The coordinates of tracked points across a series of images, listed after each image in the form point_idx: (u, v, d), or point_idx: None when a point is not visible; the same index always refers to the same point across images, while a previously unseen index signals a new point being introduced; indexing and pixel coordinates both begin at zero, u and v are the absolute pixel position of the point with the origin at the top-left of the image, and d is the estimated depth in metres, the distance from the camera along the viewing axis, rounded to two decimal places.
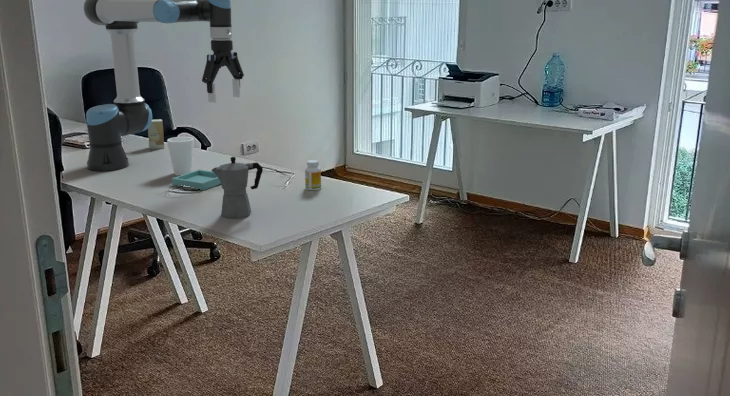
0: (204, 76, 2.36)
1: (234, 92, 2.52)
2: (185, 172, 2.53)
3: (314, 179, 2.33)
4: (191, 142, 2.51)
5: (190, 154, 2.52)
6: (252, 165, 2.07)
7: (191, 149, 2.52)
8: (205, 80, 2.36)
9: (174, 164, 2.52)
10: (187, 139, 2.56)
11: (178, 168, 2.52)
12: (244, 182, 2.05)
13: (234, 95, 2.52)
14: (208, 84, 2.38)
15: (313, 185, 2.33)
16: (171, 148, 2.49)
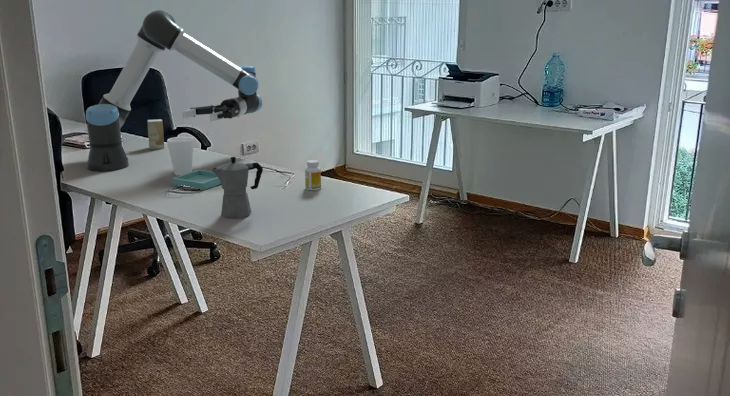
0: (232, 113, 2.61)
1: (187, 112, 2.62)
2: (185, 172, 2.53)
3: (314, 179, 2.33)
4: (191, 142, 2.51)
5: (190, 154, 2.52)
6: (252, 165, 2.07)
7: (191, 149, 2.52)
8: (231, 116, 2.60)
9: (174, 164, 2.52)
10: (187, 139, 2.56)
11: (178, 168, 2.52)
12: (244, 182, 2.05)
13: (184, 112, 2.61)
14: (225, 115, 2.59)
15: (313, 185, 2.33)
16: (171, 148, 2.49)
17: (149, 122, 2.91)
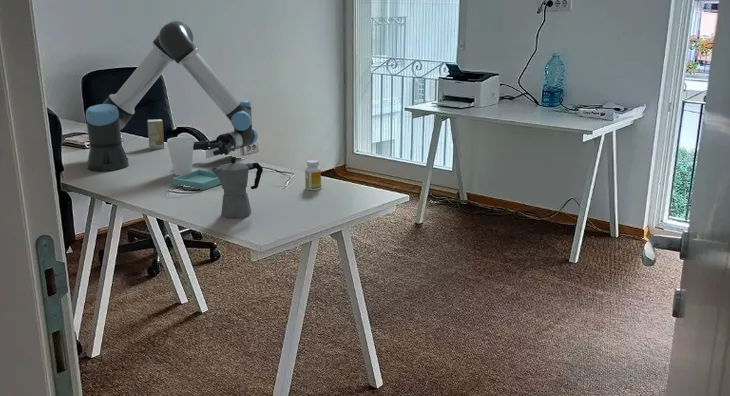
0: (228, 149, 2.61)
1: None
2: (185, 172, 2.53)
3: (314, 179, 2.33)
4: (191, 142, 2.51)
5: (190, 154, 2.52)
6: (252, 165, 2.07)
7: (191, 149, 2.52)
8: (227, 152, 2.60)
9: (174, 164, 2.52)
10: (187, 139, 2.56)
11: (178, 168, 2.52)
12: (244, 182, 2.05)
13: None
14: (221, 152, 2.60)
15: (313, 185, 2.33)
16: (171, 148, 2.49)
17: (149, 122, 2.91)
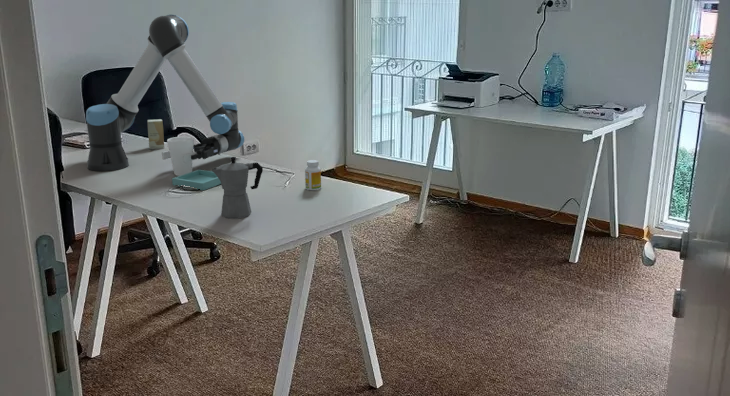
0: (207, 153, 2.54)
1: (166, 153, 2.54)
2: (185, 172, 2.53)
3: (314, 179, 2.33)
4: (191, 142, 2.51)
5: None
6: (252, 165, 2.07)
7: (191, 149, 2.52)
8: (205, 156, 2.53)
9: (174, 164, 2.52)
10: (187, 139, 2.56)
11: (178, 168, 2.52)
12: (244, 182, 2.05)
13: (164, 154, 2.53)
14: (199, 156, 2.52)
15: (313, 185, 2.33)
16: (171, 148, 2.49)
17: (149, 122, 2.91)
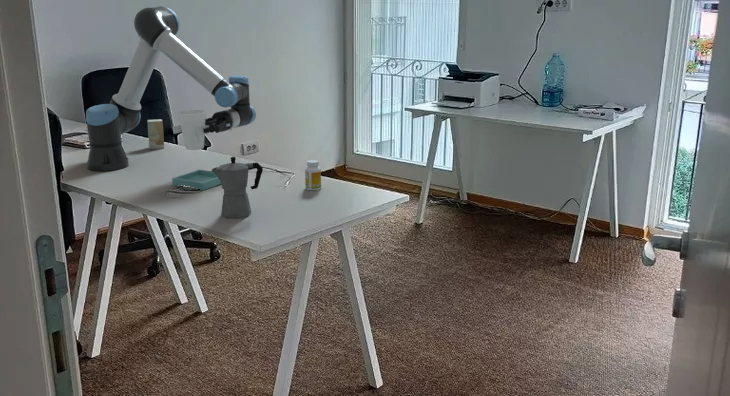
0: (219, 127, 2.44)
1: (177, 127, 2.43)
2: (197, 146, 2.43)
3: (314, 179, 2.33)
4: (203, 115, 2.41)
5: None
6: (252, 165, 2.07)
7: (203, 122, 2.42)
8: (218, 130, 2.43)
9: (186, 138, 2.42)
10: (199, 112, 2.46)
11: (190, 142, 2.42)
12: (244, 182, 2.05)
13: (175, 127, 2.42)
14: (211, 129, 2.42)
15: (313, 185, 2.33)
16: (183, 121, 2.39)
17: (149, 122, 2.91)
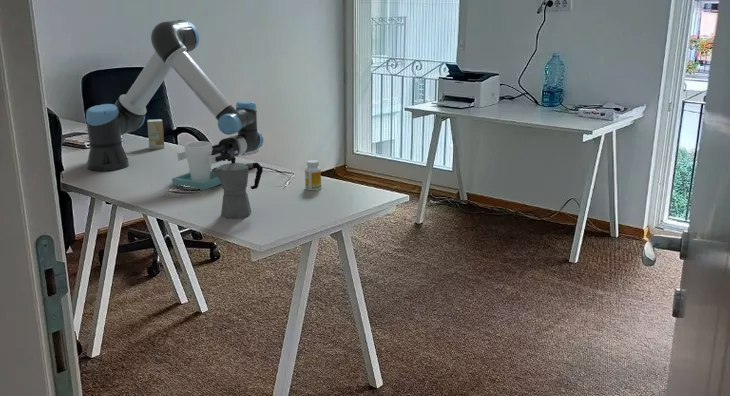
0: (231, 155, 2.41)
1: (182, 154, 2.42)
2: (203, 179, 2.40)
3: (314, 179, 2.33)
4: (210, 147, 2.38)
5: None
6: (252, 165, 2.07)
7: (209, 155, 2.39)
8: None
9: (192, 170, 2.39)
10: (205, 144, 2.43)
11: (196, 175, 2.39)
12: (244, 182, 2.05)
13: (180, 154, 2.41)
14: (223, 158, 2.39)
15: (313, 185, 2.33)
16: (189, 154, 2.36)
17: (149, 122, 2.91)
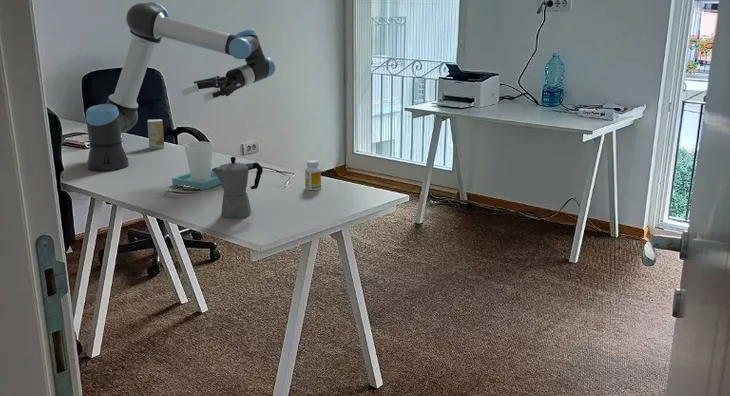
0: (229, 90, 2.45)
1: (186, 89, 2.50)
2: (203, 179, 2.40)
3: (314, 179, 2.33)
4: (210, 147, 2.38)
5: (209, 160, 2.39)
6: (252, 165, 2.07)
7: (210, 155, 2.39)
8: (227, 93, 2.44)
9: (192, 170, 2.39)
10: (205, 144, 2.43)
11: (196, 175, 2.39)
12: (244, 182, 2.05)
13: (184, 90, 2.50)
14: (221, 93, 2.44)
15: (313, 185, 2.33)
16: (189, 154, 2.36)
17: (149, 122, 2.91)
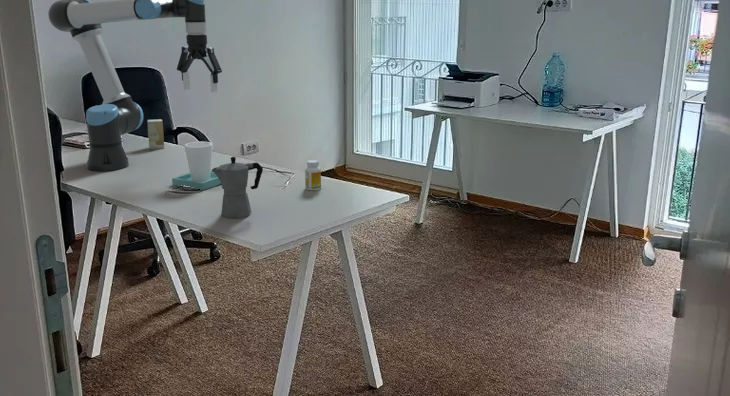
0: (217, 67, 2.55)
1: (186, 85, 2.64)
2: (203, 179, 2.40)
3: (314, 179, 2.33)
4: (210, 147, 2.38)
5: (209, 160, 2.39)
6: (252, 165, 2.07)
7: (209, 155, 2.39)
8: (220, 71, 2.56)
9: (192, 170, 2.39)
10: (205, 144, 2.43)
11: (196, 175, 2.39)
12: (244, 182, 2.05)
13: (186, 88, 2.64)
14: (216, 75, 2.57)
15: (313, 185, 2.33)
16: (189, 154, 2.36)
17: (149, 122, 2.91)
